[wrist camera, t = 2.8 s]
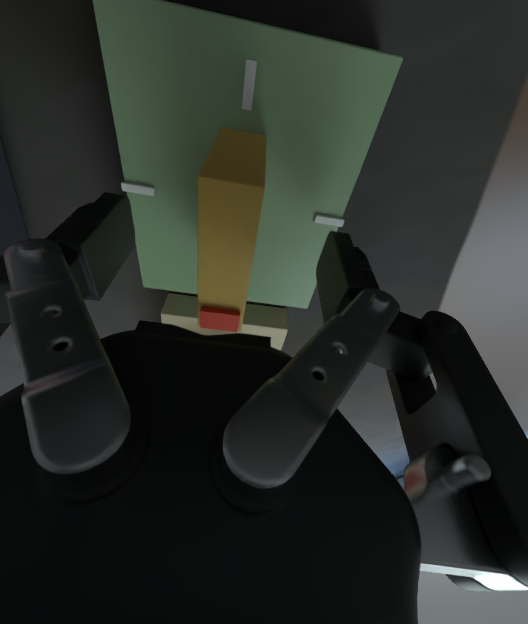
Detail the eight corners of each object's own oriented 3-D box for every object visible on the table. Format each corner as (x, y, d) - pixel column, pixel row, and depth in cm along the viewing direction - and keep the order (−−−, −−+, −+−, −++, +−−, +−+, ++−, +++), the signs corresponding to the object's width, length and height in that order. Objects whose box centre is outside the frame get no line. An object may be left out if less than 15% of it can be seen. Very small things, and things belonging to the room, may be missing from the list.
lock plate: (122, -10, 11) (82, -18, 8) (382, 51, 12) (408, 58, 9) (155, 257, 19) (140, 289, 17) (304, 279, 20) (309, 311, 18)
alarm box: (168, 292, 21) (152, 333, 18) (287, 308, 22) (289, 349, 19) (176, 372, 29) (165, 410, 26) (264, 382, 30) (263, 419, 27)
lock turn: (221, 126, 11) (195, 179, 7) (267, 135, 11) (265, 191, 8) (214, 256, 15) (196, 330, 12) (248, 261, 15) (240, 336, 12)
